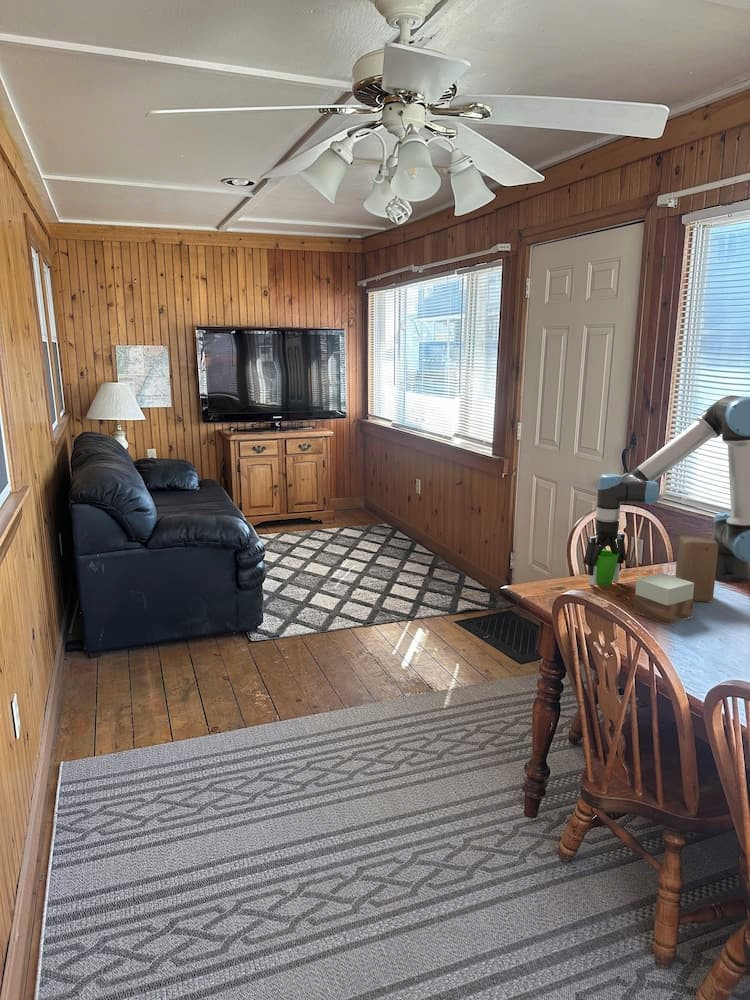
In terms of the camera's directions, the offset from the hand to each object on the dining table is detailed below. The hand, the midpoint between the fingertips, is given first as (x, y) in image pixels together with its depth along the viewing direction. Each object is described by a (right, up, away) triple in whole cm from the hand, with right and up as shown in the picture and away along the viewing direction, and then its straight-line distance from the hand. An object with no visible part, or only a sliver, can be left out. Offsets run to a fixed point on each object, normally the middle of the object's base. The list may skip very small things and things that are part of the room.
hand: (603, 582), depth 236 cm
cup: (0, -1, 0) cm, 1 cm away
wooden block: (+25, -3, -14) cm, 28 cm away
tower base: (+9, -7, -28) cm, 30 cm away
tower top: (+8, -1, -29) cm, 31 cm away
